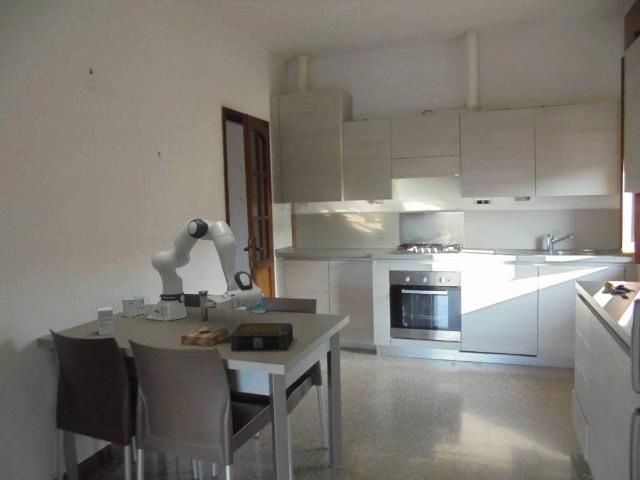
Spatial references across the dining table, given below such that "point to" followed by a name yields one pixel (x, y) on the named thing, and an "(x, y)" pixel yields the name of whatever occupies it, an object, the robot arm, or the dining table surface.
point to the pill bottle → (260, 306)
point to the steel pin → (203, 309)
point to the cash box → (262, 336)
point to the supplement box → (105, 320)
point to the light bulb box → (133, 306)
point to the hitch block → (204, 336)
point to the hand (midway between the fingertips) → (202, 304)
